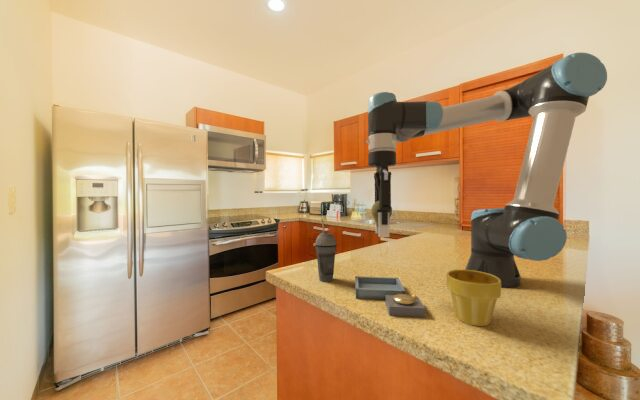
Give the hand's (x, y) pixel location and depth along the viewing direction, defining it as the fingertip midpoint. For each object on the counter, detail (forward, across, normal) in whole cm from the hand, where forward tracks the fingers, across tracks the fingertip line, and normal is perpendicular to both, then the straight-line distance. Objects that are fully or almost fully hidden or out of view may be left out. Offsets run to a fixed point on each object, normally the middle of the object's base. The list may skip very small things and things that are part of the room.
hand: (382, 234), depth 71 cm
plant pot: (+17, +13, +18) cm, 28 cm away
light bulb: (+1, 0, 0) cm, 1 cm away
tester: (+17, +9, +4) cm, 19 cm away
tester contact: (+15, +9, +4) cm, 18 cm away
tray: (+17, -2, -1) cm, 17 cm away
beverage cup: (+17, -11, -17) cm, 26 cm away
